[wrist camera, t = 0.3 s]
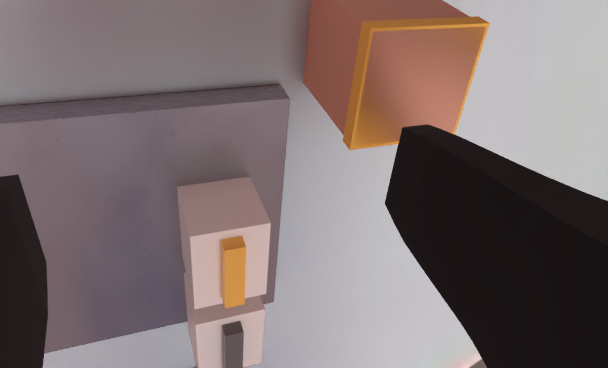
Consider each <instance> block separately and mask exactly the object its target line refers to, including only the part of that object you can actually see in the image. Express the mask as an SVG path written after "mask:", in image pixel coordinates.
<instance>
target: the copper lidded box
mask: <svg viewBox="0 0 608 368" xmlns="http://www.w3.org/2000/svg"><path fill="white" fill-rule="evenodd" d="M489 24H490V23H488V22H487V21H485V20H483V19H482V18H480V17H469V16H468V15H466V14H464V13H463V12H461V11H459V10H458V9H456V8H454V7H453V6H451V5H449V4H447V3H446V2H444V1H442V0H311V6H310V17H309V27H308V37H307V48H306V58H305V68H304V79H303V83H304V84H305V85H306V87H307V88H308V89H309V91H310V92H311V93H312V94H313V96H314V97H315V98H316V100H317V101H318V102H319V104H320V105H321V106H322V107H323V109H324V110H325V111H326V113H327V114H328V115H329V117H330V118H331V119H332V120H333V122H334V123H335V124H336V126H337V127H338V128H339V130H340V131H341V132H342V134H343V135H344V137H343V142H344V143H345V144H346V146H347V147H348V148H349V150H354V149H361V148H369V147H377V146H385V145H393V144H399V140H400V135H401V131H402V127H409V126H417V125H425V124H428V125H431V126H434V127H437V128H440V129H442V130H445V131H447V132H450V133H452V134H454V135H455V132H456V129H457V125H458V122H459V119H460V116H461V113H462V110H463V106H464V103H465V100H466V97H467V94H468V90H469V87H470V84H471V81H472V78H473V75H474V71H475V68H476V65H477V62H478V59H479V56H480V52H481V49H482V46H483V43H484V40H485V36H486V33H487V30H488V27H489Z"/></svg>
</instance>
